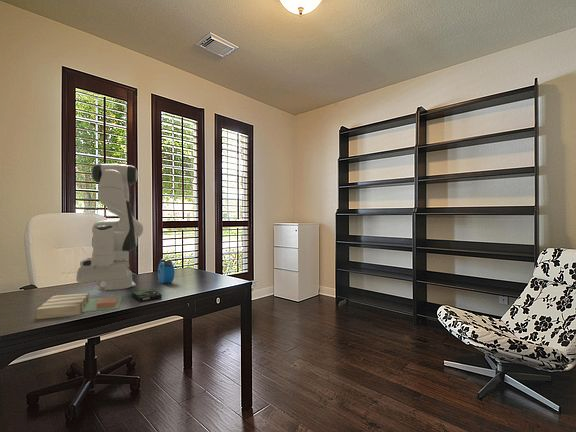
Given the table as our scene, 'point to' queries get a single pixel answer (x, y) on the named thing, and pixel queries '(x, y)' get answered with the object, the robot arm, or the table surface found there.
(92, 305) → the mat
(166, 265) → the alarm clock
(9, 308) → the table surface
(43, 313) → the riser
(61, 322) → the table surface
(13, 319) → the table surface
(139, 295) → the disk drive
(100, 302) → the orange flat block
